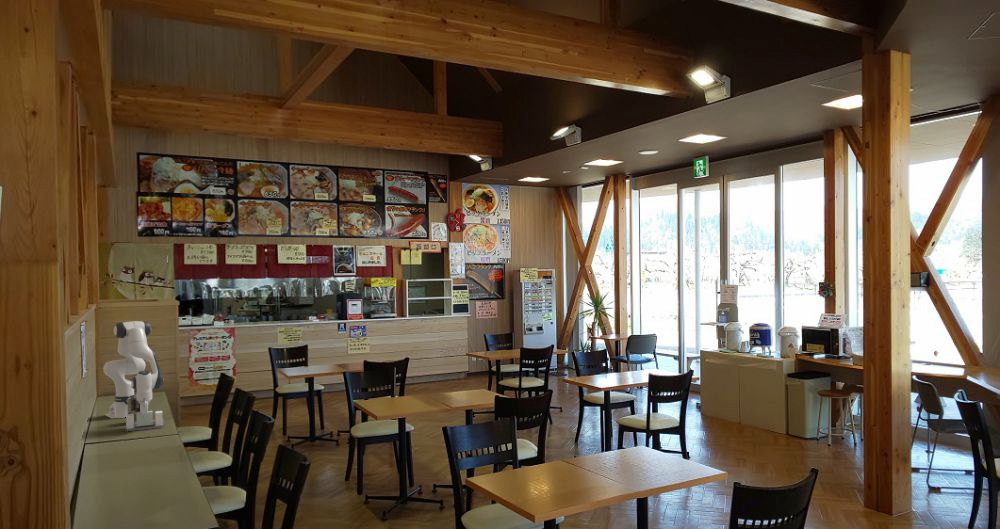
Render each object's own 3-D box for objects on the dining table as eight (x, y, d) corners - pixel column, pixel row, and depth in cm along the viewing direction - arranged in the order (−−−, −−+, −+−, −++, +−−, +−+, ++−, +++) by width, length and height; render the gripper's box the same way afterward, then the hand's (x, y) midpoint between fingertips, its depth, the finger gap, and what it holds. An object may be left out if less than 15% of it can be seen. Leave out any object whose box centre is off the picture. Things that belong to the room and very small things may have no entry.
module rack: (126, 429, 421) (125, 413, 421) (163, 424, 431) (163, 410, 431) (125, 432, 413) (125, 416, 413) (163, 427, 423) (163, 412, 423)
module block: (136, 424, 422) (136, 412, 422) (152, 423, 426) (152, 410, 426) (136, 426, 418) (136, 413, 418) (152, 424, 422) (152, 411, 422)
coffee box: (146, 421, 441) (146, 397, 441) (140, 423, 435) (140, 399, 435) (133, 421, 442) (133, 397, 442) (127, 423, 436) (127, 398, 436)
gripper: (150, 399, 414) (150, 421, 414) (150, 393, 432) (150, 415, 432) (138, 400, 411) (138, 423, 411) (138, 394, 429) (139, 416, 429)
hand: (144, 419), depth 422 cm, fingers closed on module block, 4 cm apart
